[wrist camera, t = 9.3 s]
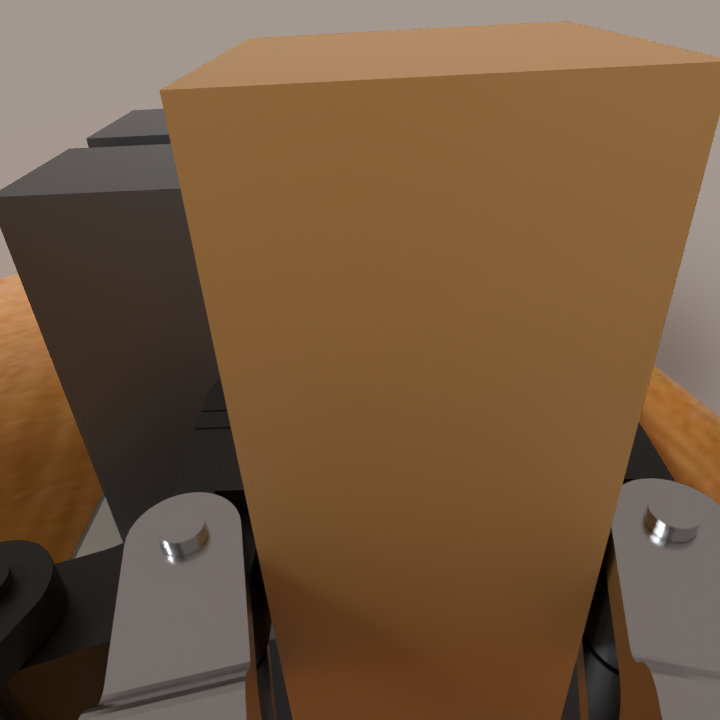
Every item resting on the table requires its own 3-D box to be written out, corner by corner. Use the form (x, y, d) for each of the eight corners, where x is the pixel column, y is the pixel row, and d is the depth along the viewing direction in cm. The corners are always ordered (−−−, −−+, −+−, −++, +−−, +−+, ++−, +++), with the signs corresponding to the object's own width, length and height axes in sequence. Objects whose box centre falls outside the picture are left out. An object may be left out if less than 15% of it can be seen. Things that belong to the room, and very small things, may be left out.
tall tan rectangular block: (320, 851, 10) (159, 88, 4) (329, 655, 13) (249, 37, 7) (526, 848, 10) (733, 61, 4) (489, 651, 13) (567, 21, 7)
